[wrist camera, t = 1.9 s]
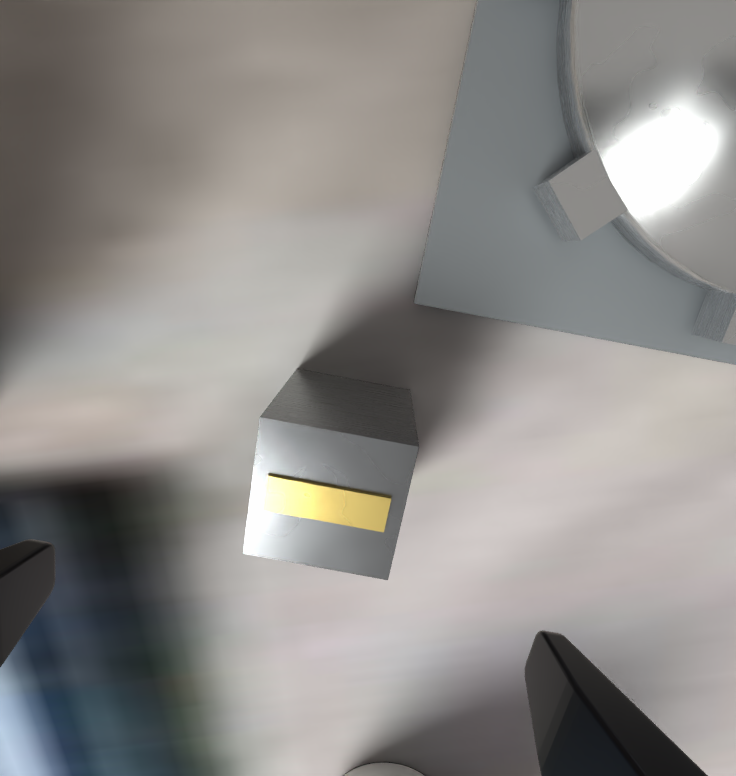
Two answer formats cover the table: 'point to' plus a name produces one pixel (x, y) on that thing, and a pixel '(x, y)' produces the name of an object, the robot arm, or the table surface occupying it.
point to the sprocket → (653, 138)
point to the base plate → (536, 208)
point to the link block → (332, 474)
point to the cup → (383, 770)
